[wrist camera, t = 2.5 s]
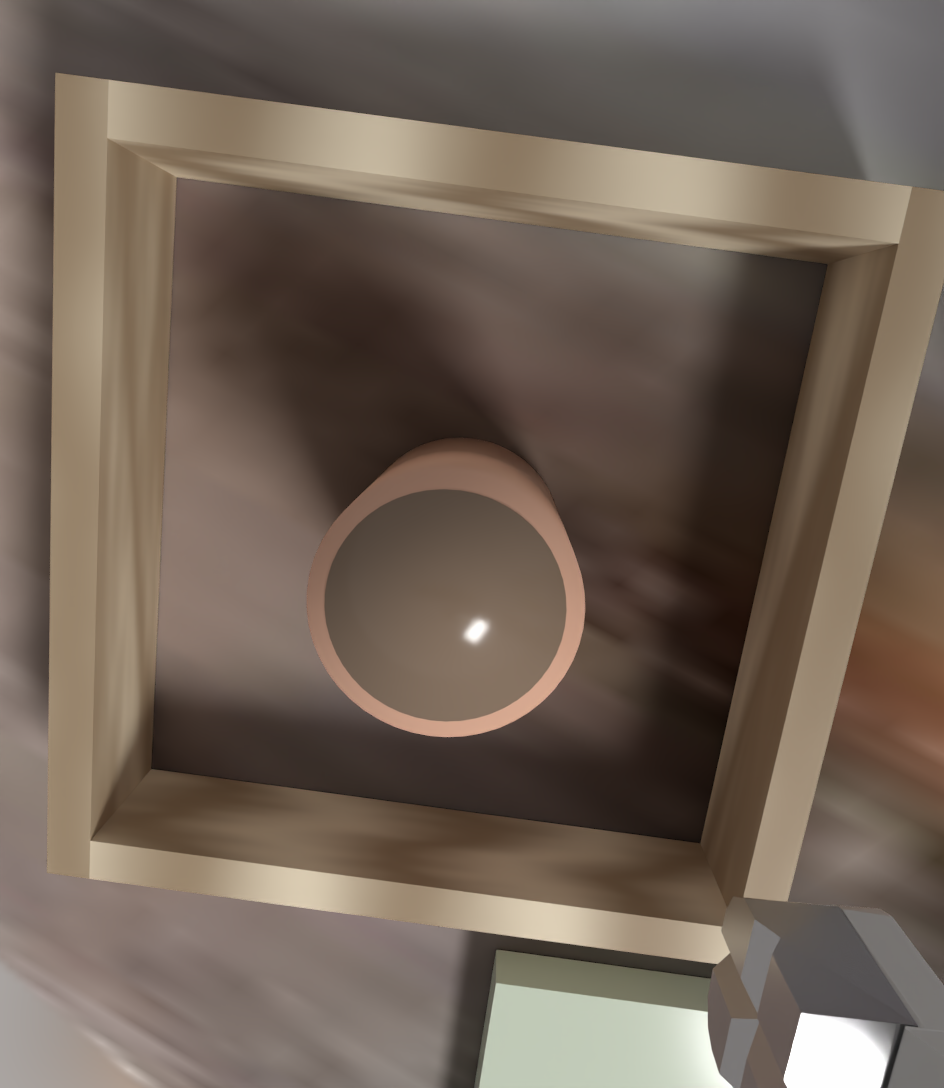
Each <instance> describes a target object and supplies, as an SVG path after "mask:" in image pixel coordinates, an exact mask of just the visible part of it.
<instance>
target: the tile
mask: <svg viewBox="0 0 944 1088" xmlns="http://www.w3.org/2000/svg"><path fill="white" fill-rule="evenodd" d="M710 981H711V979H709V978H702V977H695V976H687V975H680V974H672V973H665V972H658V971H650V970H643V969H636V968H628V967H621V966H614V965H606V964H599V963H592V962H584V961H577V960H570V959H562V958H555V957H548V956H540V955H533V954H526V953H518V952H511V951H503V950H496V954H495V960H494V966H493V973H492V979H491V985H490V991H489V998H488V1004H487V1010H486V1016H485V1023H484V1029H483V1035H482V1041H481V1048H480V1054H479V1060H478V1066H477V1073H476V1079H475V1085H474V1088H733V1087H732V1086H731V1085H730V1084H729V1083H728V1082H727V1081H726V1080H725V1079H724V1078H723V1077H722V1076H721V1075H720V1074H719V1072H718V1068H717V1065H716V1062H715V1059H714V1056H713V1053H712V1049H711V1043H710V1037H709V1031H708V992H709V987H710Z"/></svg>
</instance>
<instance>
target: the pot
mask: <svg viewBox="0 0 944 1088" xmlns="http://www.w3.org/2000/svg"><path fill="white" fill-rule="evenodd" d="M307 615H308V623H309V628H310V632H311V636H312V640H313V643H314V645H315V648H316V650H317V653H318V655H319V658H320V659H321V661H322V663H323V665H324V667H325V668H326V670H327V672H328V673H329V675H330V676H331V678H332V679H333V680H334V682H335V683H336V684H337V686H338V687H339V688H340V689H341V690H342V691H343V692H344V693H345V694H346V695H347V696H348V697H349V698H350V699H351V700H352V701H353V702H354V703H356V704H357V705H358V706H359V707H361V708H362V709H363V710H364V711H366V712H368V713H369V714H371V715H372V716H374V717H376V718H377V719H379V720H381V721H383V722H385V723H387V724H390V725H392V726H394V727H396V728H400V729H403V730H406V731H409V732H412V733H417V734H422V735H427V736H438V737H460V736H469V735H475V734H481V733H484V732H487V731H491V730H494V729H498V728H500V727H502V726H504V725H507V724H509V723H511V722H514V721H515V720H517V719H519V718H520V717H522V716H524V715H525V714H527V713H529V712H530V711H531V710H532V709H534V708H535V707H536V706H537V705H539V704H540V703H541V702H542V701H543V700H544V699H545V698H546V697H547V696H548V695H549V694H550V693H551V692H552V691H553V690H554V689H555V688H556V686H557V685H558V684H559V682H560V681H561V680H562V678H563V677H564V676H565V674H566V672H567V670H568V669H569V667H570V665H571V663H572V661H573V659H574V657H575V654H576V652H577V649H578V647H579V644H580V640H581V635H582V631H583V627H584V617H585V592H584V587H583V581H582V575H581V572H580V569H579V566H578V563H577V560H576V557H575V554H574V551H573V549H572V546H571V544H570V541H569V538H568V536H567V533H566V531H565V528H564V525H563V523H562V520H561V517H560V515H559V512H558V510H557V507H556V504H555V502H554V499H553V497H552V495H551V493H550V491H549V489H548V487H547V486H546V484H545V483H544V481H543V480H542V478H541V477H540V476H539V475H538V473H537V472H536V471H535V470H534V469H533V468H532V467H531V466H530V465H529V464H528V463H527V462H526V461H524V460H523V459H522V458H521V457H519V456H518V455H516V454H515V453H513V452H512V451H510V450H508V449H506V448H504V447H502V446H500V445H497V444H494V443H491V442H488V441H484V440H479V439H474V438H461V437H459V438H446V439H441V440H436V441H432V442H429V443H426V444H423V445H420V446H418V447H416V448H414V449H412V450H410V451H409V452H407V453H406V454H404V455H403V456H401V457H400V458H398V459H397V460H396V461H395V462H394V463H393V464H391V465H390V466H389V467H388V468H387V469H386V470H385V471H384V472H383V473H382V474H381V475H380V476H379V477H378V478H377V479H376V480H375V481H374V482H373V483H372V484H371V485H370V486H369V487H368V488H367V489H366V490H365V491H364V492H363V493H362V494H361V495H360V496H359V497H357V498H356V499H355V500H354V501H353V502H352V503H351V504H350V505H349V506H348V507H347V508H346V509H345V510H344V511H343V512H342V514H341V515H340V516H339V517H338V518H337V519H336V521H335V522H334V523H333V524H332V525H331V527H330V528H329V530H328V532H327V533H326V535H325V536H324V538H323V539H322V541H321V544H320V546H319V548H318V550H317V552H316V554H315V557H314V560H313V563H312V567H311V570H310V574H309V580H308V587H307Z"/></svg>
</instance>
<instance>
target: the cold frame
mask: <svg viewBox="0 0 944 1088" xmlns="http://www.w3.org/2000/svg"><path fill="white" fill-rule="evenodd" d="M177 177H179V178H186V179H194V180H201V181H209V182H216V183H224V184H231V185H239V186H246V187H254V188H261V189H269V190H276V191H284V192H291V193H299V194H306V195H314V196H321V197H329V198H336V199H344V200H351V201H359V202H366V203H374V204H381V205H389V206H396V207H404V208H411V209H419V210H426V211H434V212H441V213H449V214H456V215H464V216H471V217H479V218H486V219H494V220H501V221H509V222H516V223H524V224H531V225H539V226H546V227H554V228H561V229H569V230H576V231H584V232H591V233H599V234H606V235H614V236H621V237H629V238H636V239H644V240H651V241H659V242H666V243H674V244H681V245H689V246H696V247H704V248H711V249H719V250H726V251H734V252H741V253H749V254H756V255H764V256H771V257H779V258H786V259H794V260H801V261H809V262H816V263H824V264H828V266H827V270H826V275H825V279H824V284H823V289H822V293H821V298H820V302H819V307H818V311H817V316H816V320H815V325H814V329H813V334H812V339H811V343H810V348H809V352H808V357H807V361H806V366H805V370H804V375H803V379H802V384H801V389H800V393H799V398H798V402H797V407H796V411H795V416H794V420H793V425H792V429H791V434H790V438H789V443H788V448H787V452H786V457H785V461H784V466H783V470H782V475H781V479H780V484H779V488H778V493H777V498H776V502H775V507H774V511H773V516H772V520H771V525H770V529H769V534H768V538H767V543H766V548H765V552H764V557H763V561H762V566H761V570H760V575H759V579H758V584H757V588H756V593H755V598H754V602H753V607H752V611H751V616H750V620H749V625H748V629H747V634H746V638H745V643H744V648H743V652H742V657H741V661H740V666H739V670H738V675H737V679H736V684H735V688H734V693H733V698H732V702H731V707H730V711H729V716H728V720H727V725H726V729H725V734H724V738H723V743H722V748H721V752H720V757H719V761H718V766H717V770H716V775H715V779H714V784H713V788H712V793H711V798H710V802H709V807H708V811H707V816H706V820H705V825H704V829H703V834H702V838H701V843H694V842H687V841H679V840H672V839H664V838H657V837H650V836H642V835H635V834H628V833H620V832H613V831H605V830H598V829H591V828H583V827H576V826H569V825H561V824H554V823H546V822H539V821H532V820H524V819H517V818H510V817H502V816H495V815H487V814H480V813H473V812H465V811H458V810H451V809H443V808H436V807H428V806H421V805H414V804H406V803H399V802H392V801H384V800H377V799H369V798H362V797H355V796H347V795H340V794H333V793H325V792H318V791H310V790H303V789H296V788H288V787H281V786H274V785H266V784H259V783H251V782H244V781H237V780H229V779H222V778H215V777H207V776H200V775H192V774H185V773H178V772H170V771H163V770H156V769H151V766H152V742H153V719H154V696H155V672H156V649H157V626H158V602H159V579H160V555H161V532H162V509H163V485H164V462H165V439H166V415H167V392H168V368H169V345H170V322H171V298H172V275H173V252H174V228H175V205H176V181H177ZM943 283H944V191H941V190H934V189H926V188H919V187H911V186H904V185H896V184H889V183H881V182H874V181H866V180H859V179H851V178H844V177H836V176H829V175H821V174H814V173H806V172H798V171H791V170H783V169H776V168H768V167H761V166H753V165H746V164H738V163H731V162H723V161H716V160H708V159H701V158H693V157H686V156H678V155H671V154H663V153H656V152H648V151H641V150H633V149H626V148H618V147H611V146H603V145H595V144H588V143H580V142H573V141H565V140H558V139H550V138H543V137H535V136H528V135H520V134H513V133H505V132H498V131H490V130H483V129H475V128H468V127H460V126H453V125H445V124H438V123H430V122H423V121H415V120H408V119H400V118H392V117H385V116H377V115H370V114H362V113H355V112H347V111H340V110H332V109H325V108H317V107H310V106H302V105H295V104H287V103H280V102H272V101H265V100H257V99H250V98H242V97H235V96H227V95H220V94H212V93H205V92H197V91H189V90H182V89H174V88H167V87H159V86H152V85H144V84H137V83H129V82H122V81H114V80H107V79H99V78H92V77H84V76H77V75H69V74H62V73H55V147H54V243H53V340H52V436H51V532H50V629H49V725H48V821H47V873H52V874H59V875H66V876H74V877H81V878H88V879H96V880H103V881H110V882H118V883H125V884H132V885H140V886H147V887H154V888H162V889H169V890H177V891H184V892H191V893H199V894H206V895H213V896H221V897H228V898H235V899H243V900H250V901H257V902H265V903H272V904H279V905H287V906H294V907H301V908H309V909H316V910H324V911H331V912H338V913H346V914H353V915H360V916H368V917H375V918H382V919H390V920H397V921H404V922H412V923H419V924H426V925H434V926H441V927H449V928H456V929H463V930H471V931H478V932H485V933H493V934H500V935H507V936H515V937H522V938H529V939H537V940H544V941H551V942H559V943H566V944H573V945H581V946H588V947H596V948H603V949H610V950H618V951H625V952H632V953H640V954H647V955H654V956H662V957H669V958H676V959H684V960H691V961H698V962H706V963H713V964H718V963H719V962H721V961H722V960H723V959H724V958H725V957H726V956H727V955H728V954H729V953H730V951H729V949H728V947H727V944H726V942H725V939H724V937H723V934H722V932H721V929H722V925H723V921H724V916H725V912H726V909H727V907H728V905H729V903H730V901H731V899H732V898H733V896H734V897H745V898H755V899H766V900H776V901H786V902H787V901H788V897H789V893H790V889H791V885H792V881H793V877H794V873H795V869H796V865H797V861H798V857H799V853H800V849H801V845H802V841H803V837H804V833H805V829H806V825H807V821H808V817H809V814H810V810H811V806H812V802H813V798H814V794H815V790H816V786H817V782H818V778H819V774H820V770H821V766H822V762H823V758H824V754H825V750H826V746H827V742H828V738H829V734H830V730H831V726H832V722H833V719H834V715H835V711H836V707H837V703H838V699H839V695H840V691H841V687H842V683H843V679H844V675H845V671H846V667H847V663H848V659H849V655H850V651H851V647H852V643H853V639H854V635H855V631H856V628H857V624H858V620H859V616H860V612H861V608H862V604H863V600H864V596H865V592H866V588H867V584H868V580H869V576H870V572H871V568H872V564H873V560H874V556H875V552H876V548H877V544H878V540H879V536H880V533H881V529H882V525H883V521H884V517H885V513H886V509H887V505H888V501H889V497H890V493H891V489H892V485H893V481H894V477H895V473H896V469H897V465H898V461H899V457H900V453H901V449H902V445H903V441H904V438H905V434H906V430H907V426H908V422H909V418H910V414H911V410H912V406H913V402H914V398H915V394H916V390H917V386H918V382H919V378H920V374H921V370H922V366H923V362H924V358H925V354H926V350H927V346H928V343H929V339H930V335H931V331H932V327H933V323H934V319H935V315H936V311H937V307H938V303H939V299H940V295H941V291H942V287H943Z"/></svg>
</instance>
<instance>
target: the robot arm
mask: <svg viewBox="0 0 944 1088" xmlns="http://www.w3.org/2000/svg"><path fill="white" fill-rule="evenodd" d="M721 932H722V934H723V937H724V939H725V942H726V944H727V947H728V949H729V951H730V953H729V954H728V955H727V956H726V957H725V958H724V959H723V960H722V961H721V962H719V963H718V964H717V965H716V966H715V967H714V968H713V970H712V976H711V981H710V987H709V992H708V1031H709V1037H710V1043H711V1049H712V1053H713V1056H714V1059H715V1062H716V1065H717V1068H718V1072H719V1074H720V1075H721V1076H722V1077H723V1078H724V1079H725V1080H726V1081H727V1082H728V1083H729V1084H730V1085H731V1086H732V1087H733V1088H944V985H943V984H942V983H941V981H940V980H939V979H938V977H937V976H936V975H935V973H934V972H933V971H932V969H931V968H930V967H929V965H928V964H927V963H926V961H925V960H924V959H923V957H922V956H921V955H920V953H919V952H918V951H917V949H916V948H915V947H914V945H913V944H912V943H911V941H910V940H909V939H908V937H907V936H906V935H905V933H904V932H903V930H902V929H901V928H900V926H899V925H898V924H897V922H896V921H895V920H894V918H893V917H892V916H891V915H889V914H887V913H886V912H884V911H883V910H881V909H879V908H867V907H854V906H841V905H830V906H828V905H818V904H807V903H797V902H786V901H776V900H766V899H755V898H745V897H734V896H733V898H732V899H731V901H730V903H729V905H728V907H727V909H726V912H725V916H724V921H723V925H722V929H721Z"/></svg>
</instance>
